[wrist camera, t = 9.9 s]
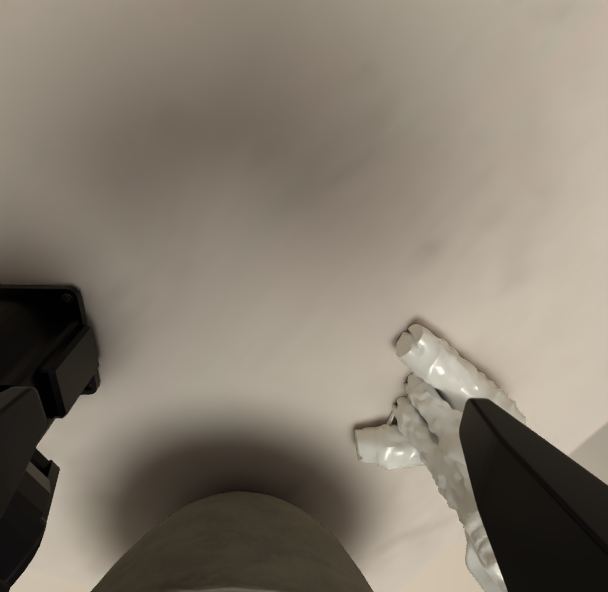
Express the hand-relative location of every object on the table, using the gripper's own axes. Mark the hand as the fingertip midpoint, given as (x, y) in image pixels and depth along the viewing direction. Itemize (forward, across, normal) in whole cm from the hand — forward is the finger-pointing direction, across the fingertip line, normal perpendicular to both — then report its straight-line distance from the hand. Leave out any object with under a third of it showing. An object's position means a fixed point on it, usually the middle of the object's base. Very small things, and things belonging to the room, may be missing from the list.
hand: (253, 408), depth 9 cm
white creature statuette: (+14, -10, +11) cm, 20 cm away
